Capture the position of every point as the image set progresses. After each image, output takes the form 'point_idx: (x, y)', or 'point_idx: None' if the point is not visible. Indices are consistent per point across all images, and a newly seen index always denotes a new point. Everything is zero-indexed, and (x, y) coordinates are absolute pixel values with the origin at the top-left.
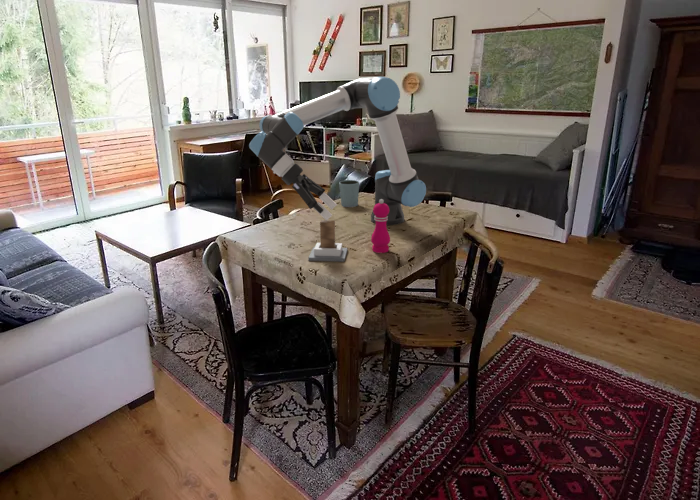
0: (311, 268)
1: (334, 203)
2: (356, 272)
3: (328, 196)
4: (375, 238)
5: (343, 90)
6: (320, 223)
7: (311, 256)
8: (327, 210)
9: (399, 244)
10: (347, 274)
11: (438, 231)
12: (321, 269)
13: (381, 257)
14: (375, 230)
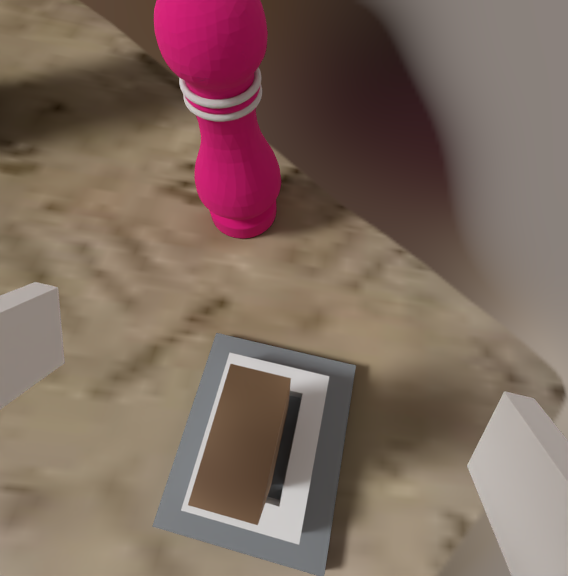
0: (437, 558)
1: (30, 305)
2: (475, 334)
3: None
4: (264, 192)
5: None
6: (258, 517)
7: (309, 553)
8: (558, 461)
9: (198, 145)
10: (500, 374)
11: (114, 33)
12: (448, 498)
13: (319, 221)
14: (242, 165)
